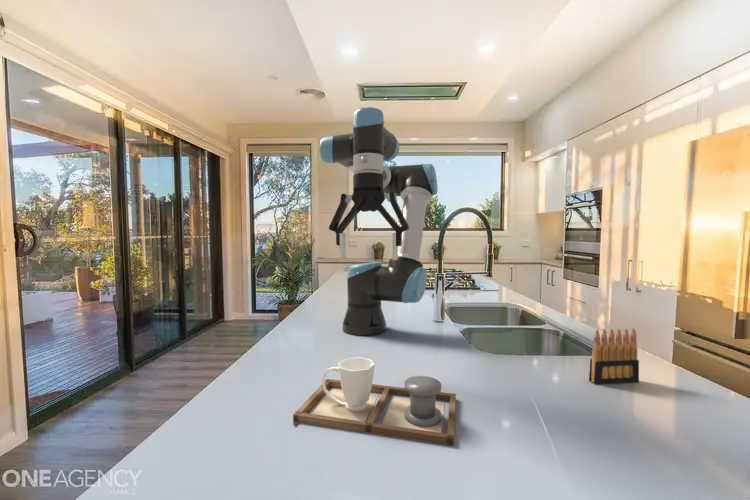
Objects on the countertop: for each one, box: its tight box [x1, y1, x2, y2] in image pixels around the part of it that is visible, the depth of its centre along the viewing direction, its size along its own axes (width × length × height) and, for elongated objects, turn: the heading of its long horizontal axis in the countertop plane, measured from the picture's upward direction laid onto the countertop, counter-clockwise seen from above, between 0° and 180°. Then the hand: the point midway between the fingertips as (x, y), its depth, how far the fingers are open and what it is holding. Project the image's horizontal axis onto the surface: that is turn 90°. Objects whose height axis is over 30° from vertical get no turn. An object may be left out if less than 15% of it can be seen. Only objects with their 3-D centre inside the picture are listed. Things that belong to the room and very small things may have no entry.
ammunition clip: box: [588, 328, 640, 386], centre depth 76 cm, size 11×2×12 cm, turn 96°
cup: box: [321, 356, 376, 412], centre depth 64 cm, size 7×10×8 cm
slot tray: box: [292, 378, 457, 447], centre depth 62 cm, size 15×27×2 cm, turn 75°
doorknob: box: [404, 375, 442, 427], centre depth 60 cm, size 6×6×6 cm
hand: (368, 259), depth 85 cm, fingers open, 13 cm apart
